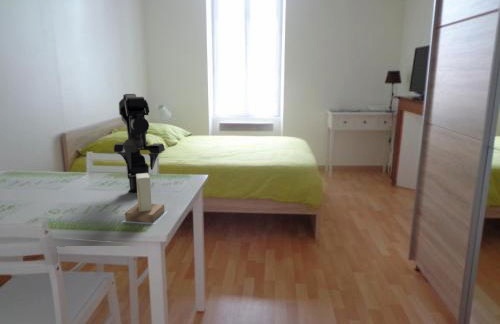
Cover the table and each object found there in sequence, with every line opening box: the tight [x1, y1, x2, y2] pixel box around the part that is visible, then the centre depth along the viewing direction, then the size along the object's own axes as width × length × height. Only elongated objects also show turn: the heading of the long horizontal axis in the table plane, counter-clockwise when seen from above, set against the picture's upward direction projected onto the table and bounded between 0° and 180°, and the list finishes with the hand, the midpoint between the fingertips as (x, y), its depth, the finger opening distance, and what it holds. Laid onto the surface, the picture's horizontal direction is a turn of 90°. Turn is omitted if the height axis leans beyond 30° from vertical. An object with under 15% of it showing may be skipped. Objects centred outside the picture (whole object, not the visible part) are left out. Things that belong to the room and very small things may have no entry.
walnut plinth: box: [124, 203, 165, 223], centre depth 130 cm, size 10×10×3 cm
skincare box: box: [136, 173, 152, 212], centre depth 128 cm, size 6×4×12 cm
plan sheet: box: [121, 210, 169, 225], centre depth 131 cm, size 12×12×1 cm
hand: (140, 169), depth 145 cm, fingers open, 9 cm apart
